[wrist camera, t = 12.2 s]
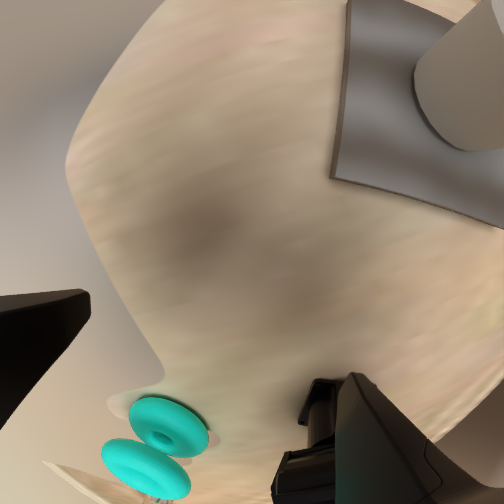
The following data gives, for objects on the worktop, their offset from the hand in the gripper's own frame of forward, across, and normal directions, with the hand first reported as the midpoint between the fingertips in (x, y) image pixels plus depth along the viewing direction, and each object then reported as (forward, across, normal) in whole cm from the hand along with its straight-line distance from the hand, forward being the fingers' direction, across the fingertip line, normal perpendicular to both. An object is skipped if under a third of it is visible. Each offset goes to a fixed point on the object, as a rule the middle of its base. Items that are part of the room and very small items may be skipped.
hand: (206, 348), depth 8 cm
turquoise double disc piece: (+13, +5, +24) cm, 28 cm away
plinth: (+13, -11, -15) cm, 23 cm away
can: (+10, -11, -14) cm, 21 cm away
